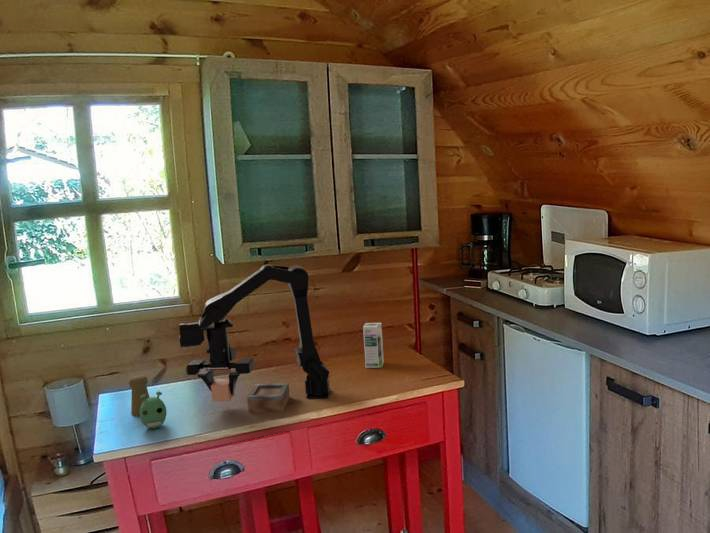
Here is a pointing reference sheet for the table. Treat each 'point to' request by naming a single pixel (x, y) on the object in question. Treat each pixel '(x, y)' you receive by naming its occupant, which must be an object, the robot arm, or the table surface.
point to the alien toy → (153, 411)
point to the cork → (138, 392)
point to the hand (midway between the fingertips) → (223, 394)
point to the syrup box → (373, 345)
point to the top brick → (221, 391)
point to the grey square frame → (268, 397)
